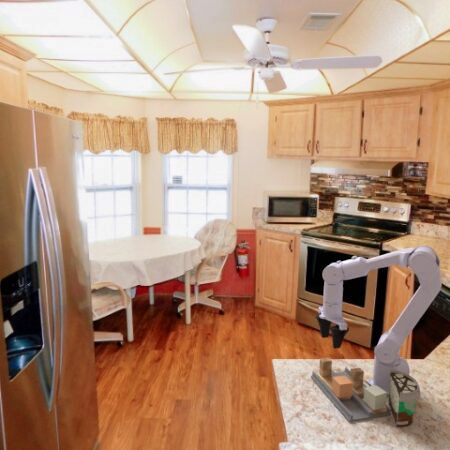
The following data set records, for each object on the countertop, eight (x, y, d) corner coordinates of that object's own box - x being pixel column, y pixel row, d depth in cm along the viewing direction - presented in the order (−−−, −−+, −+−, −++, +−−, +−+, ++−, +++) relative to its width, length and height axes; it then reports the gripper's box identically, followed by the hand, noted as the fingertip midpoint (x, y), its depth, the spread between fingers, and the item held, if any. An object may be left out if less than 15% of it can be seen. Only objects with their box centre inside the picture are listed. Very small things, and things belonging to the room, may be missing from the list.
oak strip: (329, 375, 119) (330, 357, 118) (350, 398, 107) (352, 378, 106) (317, 377, 118) (317, 358, 117) (337, 400, 106) (338, 380, 106)
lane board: (346, 372, 122) (346, 367, 122) (391, 415, 101) (391, 409, 101) (310, 377, 120) (311, 371, 119) (348, 422, 98) (349, 415, 98)
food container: (424, 434, 94) (427, 397, 93) (397, 430, 95) (400, 393, 94) (410, 404, 106) (413, 370, 105) (387, 401, 107) (389, 368, 106)
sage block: (374, 398, 106) (375, 384, 105) (385, 406, 102) (386, 392, 101) (363, 401, 104) (364, 387, 104) (374, 410, 101) (375, 395, 100)
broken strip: (360, 386, 113) (361, 367, 112) (386, 412, 102) (388, 390, 101) (347, 388, 112) (348, 368, 111) (372, 414, 101) (374, 392, 100)
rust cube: (344, 388, 110) (345, 375, 110) (352, 396, 107) (352, 382, 106) (331, 390, 109) (332, 377, 109) (339, 398, 106) (339, 384, 105)
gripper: (310, 294, 126) (309, 333, 128) (332, 310, 112) (330, 354, 114) (330, 293, 127) (328, 332, 129) (354, 308, 113) (351, 351, 115)
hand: (330, 342), depth 122 cm, fingers open, 7 cm apart
